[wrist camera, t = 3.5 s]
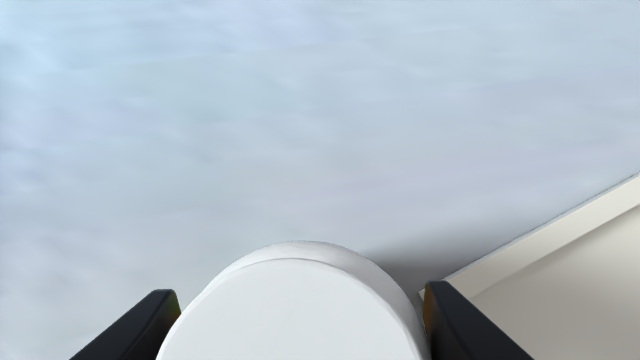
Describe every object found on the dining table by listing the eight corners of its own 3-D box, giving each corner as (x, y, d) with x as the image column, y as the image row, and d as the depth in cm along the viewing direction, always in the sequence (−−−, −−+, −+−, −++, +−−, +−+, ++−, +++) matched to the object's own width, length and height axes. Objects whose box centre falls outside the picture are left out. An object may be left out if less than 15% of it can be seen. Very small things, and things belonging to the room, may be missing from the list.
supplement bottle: (286, 241, 16) (219, 153, 7) (413, 307, 15) (543, 312, 6) (214, 375, 14) (1, 504, 5) (349, 456, 14) (385, 782, 4)
